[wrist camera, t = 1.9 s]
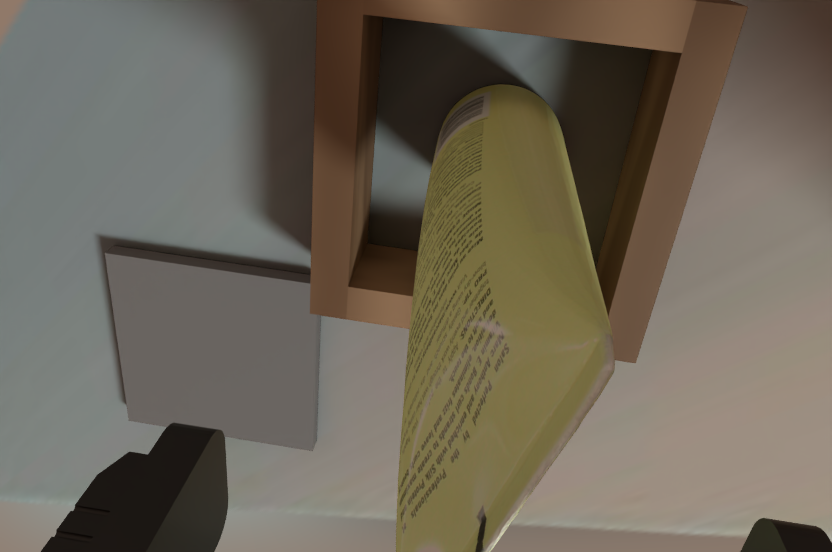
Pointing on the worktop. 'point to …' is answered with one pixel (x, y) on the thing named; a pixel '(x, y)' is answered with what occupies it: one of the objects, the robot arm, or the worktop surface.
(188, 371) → the pad
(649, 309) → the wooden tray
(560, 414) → the tube
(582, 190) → the worktop surface
